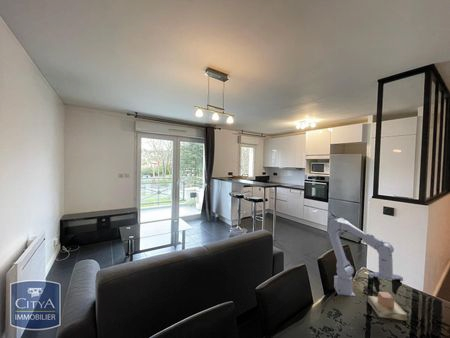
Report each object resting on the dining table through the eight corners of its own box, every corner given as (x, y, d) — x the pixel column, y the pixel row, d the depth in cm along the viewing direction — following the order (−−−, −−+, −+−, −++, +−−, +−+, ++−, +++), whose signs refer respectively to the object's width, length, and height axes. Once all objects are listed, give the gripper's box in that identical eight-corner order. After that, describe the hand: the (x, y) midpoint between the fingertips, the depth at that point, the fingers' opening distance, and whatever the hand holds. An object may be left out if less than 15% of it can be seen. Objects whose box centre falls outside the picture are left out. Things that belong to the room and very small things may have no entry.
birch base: (379, 316, 99) (379, 310, 99) (367, 301, 111) (367, 295, 111) (407, 320, 96) (407, 314, 96) (392, 304, 108) (392, 298, 108)
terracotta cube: (382, 306, 102) (382, 297, 102) (377, 300, 106) (377, 291, 107) (394, 308, 100) (394, 298, 100) (388, 301, 105) (388, 292, 105)
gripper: (373, 268, 101) (373, 295, 101) (406, 272, 98) (407, 299, 98) (367, 262, 108) (367, 287, 108) (398, 265, 105) (398, 290, 105)
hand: (385, 292), depth 103 cm, fingers open, 7 cm apart
